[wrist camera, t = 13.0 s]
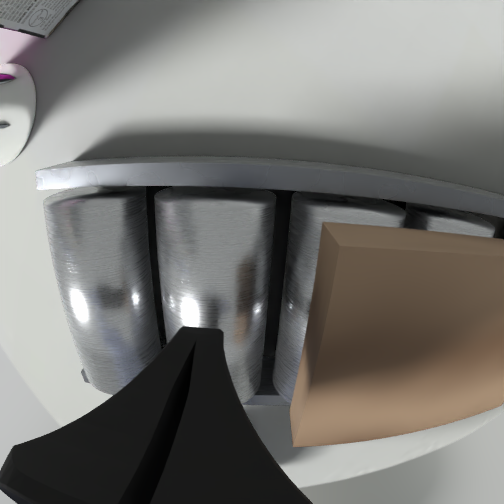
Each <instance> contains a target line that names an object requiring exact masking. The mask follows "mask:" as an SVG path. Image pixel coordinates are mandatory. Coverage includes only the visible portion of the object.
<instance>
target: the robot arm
mask: <svg viewBox="0 0 504 504" xmlns="http://www.w3.org/2000/svg"><path fill="white" fill-rule="evenodd" d="M0 490H2V491H3V492H4V493H5V494H6V495H7V496H8V497H10V498H11V499H12V500H14V501H15V502H16V503H17V504H313V503H312V502H311V501H310V500H309V499H308V498H307V497H306V496H305V495H304V494H303V493H302V492H301V491H300V490H299V489H298V488H297V486H296V485H295V484H294V483H293V482H292V481H291V480H290V479H289V477H288V476H287V475H286V474H285V473H284V471H283V470H282V469H281V468H280V466H279V465H278V464H277V463H276V461H275V460H274V458H273V457H272V455H271V454H270V453H269V451H268V450H267V448H266V447H265V445H264V444H263V442H262V441H261V439H260V438H259V436H258V434H257V433H256V431H255V429H254V428H253V426H252V424H251V422H250V420H249V418H248V416H247V414H246V413H245V411H244V408H243V406H242V404H241V402H240V400H239V397H238V395H237V392H236V390H235V387H234V384H233V382H232V379H231V375H230V372H229V369H228V365H227V361H226V357H225V352H224V332H223V331H222V330H221V329H214V328H202V327H190V326H182V327H181V328H180V329H179V330H178V331H177V333H176V334H175V335H174V336H173V338H172V339H171V340H170V341H169V342H168V343H167V345H166V346H165V347H164V348H163V349H162V350H161V351H160V352H159V354H158V355H157V356H156V357H155V358H154V359H153V360H152V361H151V362H150V363H149V364H148V365H147V366H146V367H145V368H144V369H143V370H142V371H141V372H140V373H139V374H138V375H137V376H136V377H135V378H133V379H132V380H131V381H130V382H129V383H128V384H127V385H126V386H124V387H123V388H122V389H121V390H120V391H118V392H117V393H116V394H115V395H113V396H112V397H111V398H109V399H108V400H107V401H105V402H104V403H102V404H101V405H99V406H98V407H96V408H95V409H93V410H92V411H90V412H89V413H87V414H86V415H84V416H82V417H81V418H79V419H77V420H75V421H73V422H71V423H69V424H67V425H66V426H64V427H62V428H60V429H58V430H55V431H53V432H51V433H49V434H46V435H44V436H41V437H38V438H36V439H33V440H30V441H27V442H24V443H21V444H18V445H15V446H13V448H12V449H11V451H10V453H9V455H8V457H7V458H6V460H5V462H4V464H3V466H2V468H1V470H0Z"/></svg>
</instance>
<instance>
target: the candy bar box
mask: <svg viewBox="0 0 504 504" xmlns="http://www.w3.org/2000/svg"><path fill="white" fill-rule="evenodd" d="M79 1H80V0H0V28H4V29H9V30H13V31H18V32H22V33H26V34H30V35H32V36H37V37H41V38H44V39H45V38H47V37H48V36H49V35H50V34H51V33H52V32H53V31H54V30H55V29H56V27H57V26H58V25H59V24H60V23H61V22H62V21H63V19H64V18H65V17H66V16H67V14H68V13H69V12H70V11H71V10H72V8H73V7H74V6H75V5H76V4H77V3H78V2H79Z"/></svg>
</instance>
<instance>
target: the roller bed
mask: <svg viewBox="0 0 504 504" xmlns="http://www.w3.org/2000/svg"><path fill="white" fill-rule="evenodd" d="M36 183H37V190H42V189H58V188H74V189H69V190H66V191H62V192H59V193H56V194H54V195H51V196H49V197H48V198H46V199H45V200H44V201H43V204H44V213H45V220H46V227H47V233H48V240H49V245H50V251H51V256H52V261H53V266H54V271H55V275H56V279H57V284H58V288H59V292H60V296H61V300H62V303H63V307H64V311H65V314H66V318H67V321H68V324H69V328H70V331H71V334H72V337H73V340H74V343H75V346H76V349H77V352H78V355H79V357H80V360H81V363H82V365H83V370H82V371H81V373H82V376H83V378H84V381H85V382H87V383H91V384H92V385H93V386H94V387H95V388H96V389H98V390H100V391H102V392H104V393H107V394H112V395H115V394H116V393H117V392H118V391H120V390H121V389H122V388H123V387H124V386H126V385H127V384H128V383H129V382H130V381H131V380H132V379H133V378H135V377H136V376H137V375H138V374H139V373H140V372H141V371H142V370H143V369H144V368H145V367H146V366H147V365H148V364H149V363H150V362H151V361H152V360H153V359H154V358H155V357H156V356H157V355H158V354H159V352H160V351H161V350H162V349H161V344H160V337H159V331H158V324H157V316H156V309H155V301H154V292H153V283H152V274H151V263H150V252H149V239H148V223H147V204H146V188H145V187H144V186H176V187H171V188H167V189H164V190H161V191H159V192H157V193H156V194H155V220H156V238H157V253H158V266H159V277H160V288H161V297H162V306H163V315H164V323H165V331H166V338H167V343H168V342H169V341H170V340H171V339H172V338H173V336H174V335H175V334H176V333H177V331H178V330H179V329H180V328H181V327H182V326H190V327H202V328H214V329H221V330H222V331H223V332H224V352H225V357H226V361H227V365H228V369H229V372H230V375H231V379H232V382H233V384H234V387H235V390H236V392H237V395H238V397H239V400H240V402H241V404H246V405H291V402H292V398H293V393H294V388H295V384H296V379H297V374H298V369H299V364H300V359H301V354H302V349H303V344H304V338H305V333H306V327H307V322H308V316H309V310H310V304H311V298H312V292H313V286H314V279H315V273H316V266H317V259H318V252H319V244H320V237H321V229H322V222H334V223H348V224H361V225H373V226H385V227H396V228H407V229H417V230H427V231H437V232H446V233H455V234H464V235H473V236H481V237H489V238H493V237H494V233H495V227H494V226H493V225H492V224H491V223H489V222H488V221H486V220H484V219H482V218H480V217H478V216H475V215H473V214H470V213H468V212H465V211H470V212H475V213H481V214H486V215H492V216H497V217H502V218H504V195H501V194H497V193H493V192H490V191H486V190H482V189H477V188H473V187H469V186H465V185H460V184H456V183H451V182H446V181H441V180H436V179H431V178H426V177H421V176H415V175H409V174H404V173H398V172H391V171H385V170H378V169H371V168H364V167H356V166H348V165H340V164H331V163H321V162H311V161H300V160H287V159H272V158H255V157H231V156H146V157H122V158H105V159H92V160H80V161H71V162H67V163H63V164H59V165H55V166H51V167H48V168H44V169H40V170H37V171H36ZM77 187H78V188H77ZM261 188H262V189H261ZM264 189H279V190H294V191H299V192H296V193H294V194H293V195H292V203H291V215H290V226H289V236H288V247H287V257H286V267H285V277H284V286H283V295H282V304H281V313H280V321H279V330H278V338H277V346H276V354H275V357H270V356H263V350H264V339H265V329H266V318H267V306H268V295H269V283H270V271H271V259H272V246H273V233H274V220H275V206H276V195H275V194H274V193H272V192H270V191H267V190H264ZM377 198H380V199H377ZM381 199H388V200H396V201H404V202H407V203H406V209H405V211H404V210H403V209H402V208H400V207H398V206H397V205H394V204H392V203H390V202H387V201H384V200H381ZM462 210H464V211H462Z"/></svg>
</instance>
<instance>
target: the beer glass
mask: <svg viewBox="0 0 504 504" xmlns="http://www.w3.org/2000/svg"><path fill="white" fill-rule="evenodd" d="M35 111H36V91H35V85H34V82H33V79H32V77H31V75H30V73H29V72H28V70H27V69H26V68H24V67H23V66H21V65H19V64H13V63H9V64H0V166H4V165H6V164H8V163H10V162H11V161H13V160H14V159H15V158H16V157H17V156H18V155H19V153H20V152H21V151H22V149H23V148H24V146H25V144H26V142H27V140H28V138H29V135H30V132H31V129H32V126H33V122H34V117H35Z"/></svg>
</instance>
